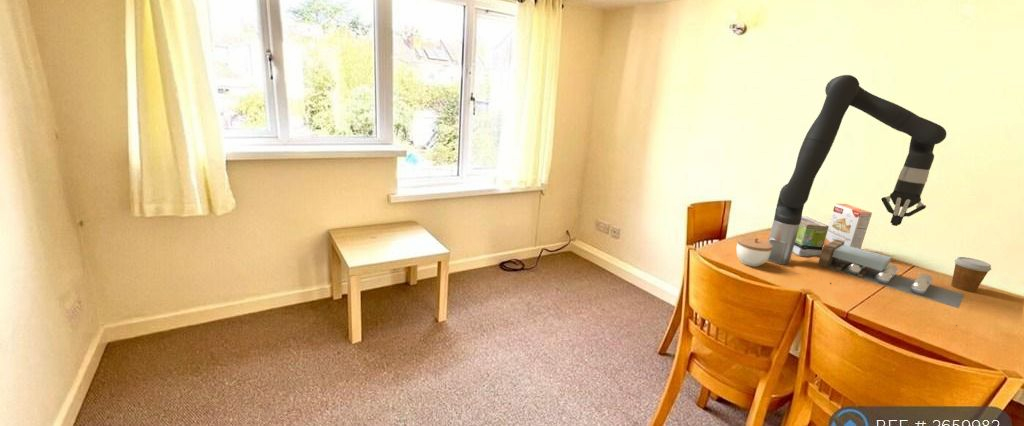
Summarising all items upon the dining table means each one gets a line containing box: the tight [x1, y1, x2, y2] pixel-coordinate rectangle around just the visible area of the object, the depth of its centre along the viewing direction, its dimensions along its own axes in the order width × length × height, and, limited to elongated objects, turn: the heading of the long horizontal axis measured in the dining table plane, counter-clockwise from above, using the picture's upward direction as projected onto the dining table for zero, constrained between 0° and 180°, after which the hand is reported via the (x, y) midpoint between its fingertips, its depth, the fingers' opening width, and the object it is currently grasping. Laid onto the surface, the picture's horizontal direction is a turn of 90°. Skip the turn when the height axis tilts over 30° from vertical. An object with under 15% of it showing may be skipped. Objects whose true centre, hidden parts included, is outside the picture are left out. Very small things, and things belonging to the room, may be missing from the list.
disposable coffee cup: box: [950, 256, 992, 293], centre depth 158 cm, size 10×10×12 cm
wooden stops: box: [817, 239, 872, 279], centre depth 172 cm, size 18×14×9 cm
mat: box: [827, 259, 965, 309], centre depth 163 cm, size 18×38×1 cm, turn 39°
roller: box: [847, 263, 866, 276], centre depth 170 cm, size 16×4×4 cm
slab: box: [832, 245, 892, 271], centre depth 169 cm, size 12×16×3 cm
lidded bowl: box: [735, 236, 773, 268], centre depth 172 cm, size 13×13×11 cm
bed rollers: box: [875, 263, 934, 296], centre depth 160 cm, size 16×14×4 cm
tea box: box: [792, 216, 829, 258], centre depth 190 cm, size 15×10×15 cm
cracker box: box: [823, 203, 873, 249], centre depth 193 cm, size 14×6×21 cm, turn 5°
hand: (894, 225), depth 157 cm, fingers closed
